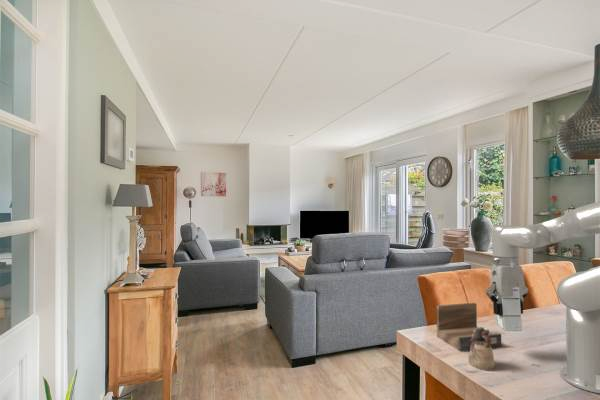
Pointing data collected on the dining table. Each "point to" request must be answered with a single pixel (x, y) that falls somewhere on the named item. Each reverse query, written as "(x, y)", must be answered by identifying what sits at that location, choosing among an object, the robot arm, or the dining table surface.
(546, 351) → the dining table surface
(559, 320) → the dining table surface
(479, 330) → the figurine
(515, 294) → the syrup box
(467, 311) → the shelf
